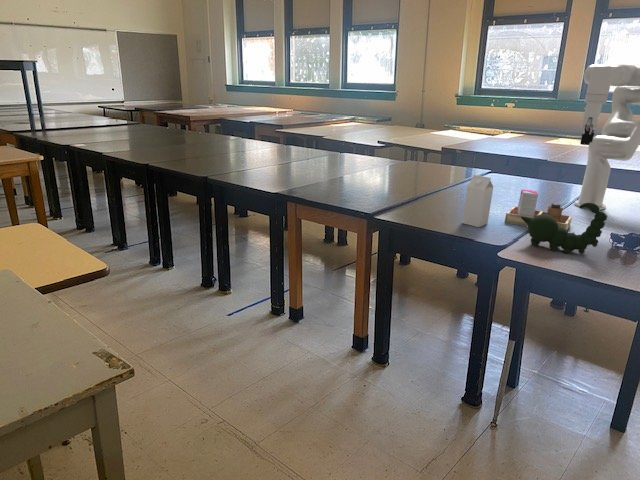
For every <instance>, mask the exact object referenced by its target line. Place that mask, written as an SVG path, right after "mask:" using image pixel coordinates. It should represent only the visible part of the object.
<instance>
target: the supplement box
mask: <svg viewBox="0 0 640 480" xmlns="http://www.w3.org/2000/svg"><path fill="white" fill-rule="evenodd" d="M538 198H539V193H538V192H537V191H536V190H529V189H521V191H520V196H519V200H518V205H517V207H518V209H517V214H516V215H522V216H527V217H534V213H535V210H536V207H537V202H538Z"/></svg>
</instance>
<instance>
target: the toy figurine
mask: <svg viewBox="0 0 640 480" xmlns="http://www.w3.org/2000/svg"><path fill="white" fill-rule="evenodd" d="M578 208H579V209H586V208H588V209H587V210H589V211H591V213H593V214H594V216H593V219H591V220H590V223H589V225H588V226H587V227H586V229H585V231H584V232H582V233H581V234H575V233H574V232H568V230H566V229H564V228H562V227H559V226H558V223H557V221H556V220H555V219H554V218H553V217H551V216H549V215H545V214H542V215H537V216H535V217H533V218H530V217H521V218H522V219H523V221H524V222H525V223H526V224H527V225H528V227H527V231H528V234H529V237H531V239H530V243H531V244H532V245H534V246H538V245H540V244H541V243H546V242H548V245H549V246H548V247H549V248H550V250H556V249H558V248H562V249H563V253H564V254H567V255H568V254H570V252H573V251H575V250H577V252H578V253H579V254H582V255H583V254H584V253H585V251H586V249H587V247H588V246H592V247H593V248H594V247H597V246H598V244H599V239H597V238H600V237H601V235H602V234H603V231H602V230H601V229H603V228H605V225H606V223H605V221H607V219H608V215H607V214H606V212H604V211H600V209H599V207H598V206H597V205H596V204H594V203H584V204H582V205H581V206H580V207H578ZM562 249H561V250H562Z"/></svg>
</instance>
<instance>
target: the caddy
mask: <svg viewBox="0 0 640 480" xmlns="http://www.w3.org/2000/svg"><path fill="white" fill-rule="evenodd" d="M517 209H518V206H516V205H514V206H512V207H511V208H510V209H509V210H508V211H507V212H506V213H505V219H504V223H507V224H510V225H517V226H521V225H522V227H526V226H528V225H527V224H526V223H525V222H524V221H523V219H522V218H521V217H527V216H522V215H516V214H517ZM563 209H564V208H563V207H562V205H561V204H560V203H555V202H553V203H551V205H549V206H548V208H547V211H543V210H538V209H535V213H534V217H535V216H537V215H542V214H545V215H549V216H551V217H553V218H554V219H555V220H556V221H557V223H558V226H559V227H562V228H564V229H566V230H567V231H568V229H569V228H570V226H571V221H572V218H573V216H572V215H566V214H563ZM530 218H533V217H530Z"/></svg>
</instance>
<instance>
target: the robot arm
mask: <svg viewBox="0 0 640 480" xmlns="http://www.w3.org/2000/svg"><path fill="white" fill-rule="evenodd" d="M583 81H584V83H585V84H587V89H586V94H585V97H584V103H585V104H586V106H585V109H584V113H583V117H582V120H581V121H582V122H581V125H580V128H581V129H583V132H582V134H581V139H580V142H579V143H580V145H583V146H588V152H587V153H588V154H587V155H588V156H587V162H586V168H585V172H584V176H583V181H582V185H581V189H580V194H579V199H578V200H577V199H576V200H575V201H574V205H575V206H576V207H578V208H579V207H580V206H581V205H582V204H584V203H594V204H596V205H597V206H598V207H599V209H600V210H605V209H606V208H607V206H606V204H604V199H605V195H606V190H607V186H608V183H609V180H610V179H609V178H610V174H611V171H612V169H611V165H610V162H609V161H608V160H615V161H620V162H621V161H623V162H627V161H629V160H631V159H632V157H633V156H634V155H635V153H636V151H637V149H638V148H639V146H640V121H639V120H635V119H634V120H633V118H634V114H633V112H632V110H631V108H630V106H628V105H637V106H638V105H639V106H640V65H639V64H638V65H636V64H591V65H588V67H586V68H585V71H584V73H583ZM611 87H615V88H614V90H613V93H612V96H611V114H610V116H609V117H608V119H607V121H606V122H605V123H604V125H603V128H602V129H601V135H599V134H598V135H595V129H596V128H597V126H598V123H599V121H600V117H601V113H602V108H603V104H605V105H606V104H607V101H608V97H609V92H610V89H611ZM585 209H586V210H589V209H588V208H585Z"/></svg>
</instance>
